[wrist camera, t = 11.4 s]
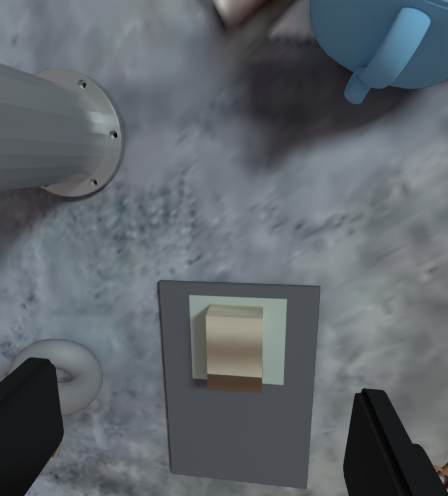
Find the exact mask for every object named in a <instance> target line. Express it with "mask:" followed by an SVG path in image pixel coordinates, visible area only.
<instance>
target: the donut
mask: <svg viewBox="0 0 448 496" xmlns="http://www.w3.org/2000/svg"><path fill="white" fill-rule="evenodd" d="M30 357H36V358H46V359H49V360H50V361H51V364H54V365H55V367H56V368H61V369H64V370H66V371H67V372H69V373H70V374H71V376H72V377H73V380H72V381H70V382H64V383H62V382H57V383H58V391H59V398H60V406H61V414H62V416H66V415H72V414H74V413H76V412H78V411H80V410H82V409H84V408H86V407H87V406H88V405H89V404H90V403H91V402H92V401H93V400H94V399H95V398H96V397H97V395H98V393H99V391H100V389H101V387H102V384H103V370H102V367H101V365H100V362H99V360H98V359H97V358H96V356H95V355H94V354H93V353H92V352H91V351H90V350H88V349H87V348H86V347H84V346H83V345H81V344H78V343H76V342H74V341H69V340H64V339H47V340H43V341H38V342H35V343H33V344H32V345H30V346H28V347H26V348H25V349H23V350H22V351H21V352H20V353H19V354H18V355H17V356H16V357H15V359H14V360H13V361H12V364H11V367H10V370H9V373H8V375H9V374H10V373H11V372H13V371H14V370H15V369H16V368H17V367H18V366H19V365H20V364H22V363H23V362H24V361H25V360H26V359H28V358H30Z"/></svg>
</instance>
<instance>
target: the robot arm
mask: <svg viewBox="0 0 448 496" xmlns="http://www.w3.org/2000/svg"><path fill="white" fill-rule="evenodd" d="M85 84H86V87H85ZM116 133H117V138H116V137H115V134H116ZM124 146H125V141H124V129H123V125H122V120H121V118H120V115H119V113H118V110H117V108H116V106H115V105H114V103H113V101H112V100H111V98H110V97H109V96H108V94H107V93H106V92H105V91H104V90H103V89H102V88H101V87H100V86H99V85H98V84H96V83H95V82H94V81H92V80H91V79H89V78H87V77H85V76H83V75H81V74H78V73H76V72H73V71H69V70H64V69H49V70H46V71H42V72H39V73H37V74H35V75H32V74H29V73H26V72H24V71H21V70H18V69H15V68H12V67H10V66H7V65H4V64H1V63H0V191H5V190H13V189H21V188H29V187H38V186H40V187H41V188H43V189H45V190H46V191H48V192H50V193H53V194H56V195H60V196H66V197H77V196H84V195H88V194H91V193H94V192H96V191H98V190H100V189H101V188H103V187H104V186H105V185H107V184H108V183H109V182H110V180H111V179H112V178H113V177H114V176H115V174H116V172H117V170H118V169H119V167H120V164H121V161H122V158H123V153H124ZM96 181H97V184H96ZM63 434H64V429H63V421H62V414H61V406H60V398H59V391H58V383H57V376H56V368H55V365H54V364H51V361H50V360H49V359H46V358H36V357H30V358H28V359H26V360H25V361H24V362H23V363H22V364H20V365H19V366H18V367H17V368H16V369H15V370H14V371H13V372H11V373H10V374H9V375H8V376H7V377H6V378H5V379H3V380H2V381H1V382H0V496H24V495H25V494H26V493H27V491H28V490H29V488H30V487H31V485H32V484H33V482H34V481H35V480H36V478H37V477H38V475H39V474H40V472H41V471H42V469H43V468H44V467H45V465H46V464H47V462H48V461H49V459H50V458H51V456H52V455H53V454H54V452H55V451H56V449H57V448H58V446H59V445H60V443H61V441H62V438H63ZM343 471H344V478H345V482H346V486H347V490H348V494H349V496H448V492H447V490H446V488H445V487H444V485H443V483H442V481H441V479H440V477H439V476H438V474H437V472H436V470H435V468H434V467H433V465H432V463H431V461H430V459H429V458H428V456H427V454H426V452H425V451H424V449H423V448H422V447H421V446H420V445H419V444H412V442H411V440H410V438H409V436H408V434H407V432H406V430H405V428H404V426H403V425H402V423H401V421H400V419H399V417H398V415H397V413H396V411H395V409H394V407H393V405H392V404H391V402H390V400H389V398H388V396H387V394H386V392H385V391H383V390H376V389H366V388H364V389H362V391H361V393H356V394H355V397H354V403H353V409H352V415H351V421H350V427H349V433H348V439H347V445H346V451H345V457H344V464H343Z"/></svg>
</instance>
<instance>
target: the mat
mask: <svg viewBox="0 0 448 496" xmlns="http://www.w3.org/2000/svg"><path fill="white" fill-rule="evenodd" d="M159 291H160V305H161V320H162V334H163V349H164V364H165V378H166V393H167V408H168V422H169V437H170V451H171V466H172V474H179V475H188V476H197V477H205V478H214V479H223V480H232V481H240V482H249V483H258V484H267V485H275V486H284V487H293V488H302V489H307V477H308V462H309V447H310V433H311V418H312V403H313V389H314V374H315V360H316V345H317V330H318V316H319V301H320V286H309V285H281V284H253V283H225V282H198V281H170V280H160V281H159ZM210 304H220V305H242V306H264V307H263V357H262V361H263V370H262V394H261V393H248V392H236V391H223V390H210V389H208V387H207V342H206V314H207V312H208V309H209V307H210Z"/></svg>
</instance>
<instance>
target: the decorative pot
mask: <svg viewBox="0 0 448 496" xmlns="http://www.w3.org/2000/svg"><path fill="white" fill-rule="evenodd" d="M310 19H311V27H312V30H313V33H314V36H315V38H316V40H317V42H318V43H319V45H320V47H321V48H322V49H323V50H324V52H325V53H326V54H327V55H328V56H330V57H331V58H332V59H333V60H335V61H336V62H337V63H339V64H340V65H342V66H344V67H345V68H347V69H349V70H350V71H352V72H354V73H353V74H352V76H351V78H350V80H349V82H348V84H347V86H346V88H345V91H344V96H345V98H346V99H347V100H348V101H349V102H350V103H353V104H361V103H362V102H363V100H364V98H365V96H366V95H367V93H368V92H369V90H370V89H371V87H372V88H377V89H381V88H385V87H387V86H388V85H390V86H394V87H400V88H405V89H420V88H425V87H429V86H432V85H435V84H437V83H440V82H442V81H444V80H446V79H448V0H310Z"/></svg>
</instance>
